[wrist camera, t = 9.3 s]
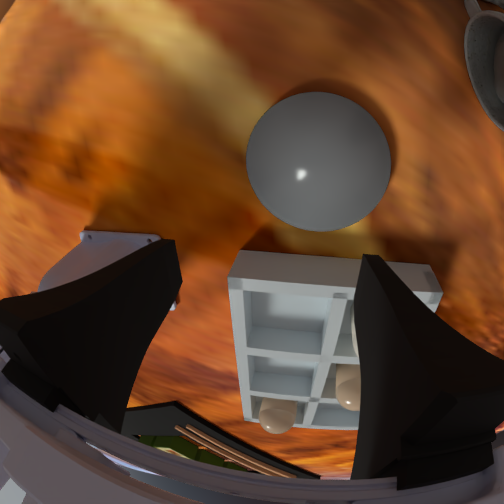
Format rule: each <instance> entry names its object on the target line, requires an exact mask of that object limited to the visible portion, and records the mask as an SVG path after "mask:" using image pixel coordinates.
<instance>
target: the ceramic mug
mask: <svg viewBox="0 0 504 504" xmlns="http://www.w3.org/2000/svg"><path fill="white" fill-rule="evenodd" d="M485 1H488V2H491V3H494V4H495V5H498V6H499V7H501V8H502V9H503V10H504V0H485ZM464 5H465V8H466V10H467V13H468V15H469V17H470V20H469V21H468V24H467V26H466V30H465V35H464V52H465V60H466V64H467V69H468V73H469V77H470V80H471V83H472V86H473V89H474V91H475V93H476V96H477V98H478V100H479V102H480V104H481V105H482V107H483V109H484V111H485V112H486V114H487V115H488V117H489V118H490V119H491V120H492V121H493V122H494V124H495V125H496V126H497V127H498V128H500V129H501V130H502V131H504V13H501V12H497V11H490V10H485V11H482V10H481V9H480V6H479V4H478V2H477V0H464Z"/></svg>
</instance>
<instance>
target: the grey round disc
mask: <svg viewBox="0 0 504 504" xmlns="http://www.w3.org/2000/svg"><path fill="white" fill-rule="evenodd" d="M246 166H247V173H248V177H249V181H250V183H251V186H252V188H253V190H254V192H255V194H256V196H257V197H258V199H259V200H260V201H261V203H262V204H263V205H264V206H265V207H266V208H267V210H269V211H270V212H271V213H272V214H273V215H274V216H276V217H277V218H279V219H280V220H282V221H283V222H285V223H287V224H289V225H292V226H294V227H297V228H300V229H304V230H309V231H333V230H338V229H342V228H345V227H348V226H350V225H352V224H354V223H356V222H358V221H360V220H361V219H363V218H364V217H365V216H367V215H368V214H369V213H370V212H371V211H372V210H373V209H374V208H375V207H376V206H377V204H378V203H379V201H380V200H381V198H382V197H383V195H384V193H385V191H386V188H387V185H388V182H389V178H390V172H391V157H390V150H389V146H388V143H387V140H386V137H385V135H384V133H383V131H382V129H381V128H380V126H379V125H378V123H377V122H376V121H375V119H374V118H373V117H372V116H371V115H370V114H369V113H368V112H367V111H366V110H365V109H363V108H362V107H361V106H360V105H358V104H356V103H355V102H353V101H351V100H349V99H347V98H345V97H342V96H339V95H336V94H332V93H325V92H307V93H300V94H297V95H293V96H290V97H288V98H286V99H284V100H282V101H280V102H278V103H277V104H275V105H274V106H272V107H271V108H270V109H269V110H268V111H266V113H265V114H264V115H263V116H262V117H261V118H260V119H259V121H258V122H257V124H256V125H255V127H254V129H253V131H252V133H251V136H250V139H249V142H248V146H247V152H246Z"/></svg>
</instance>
